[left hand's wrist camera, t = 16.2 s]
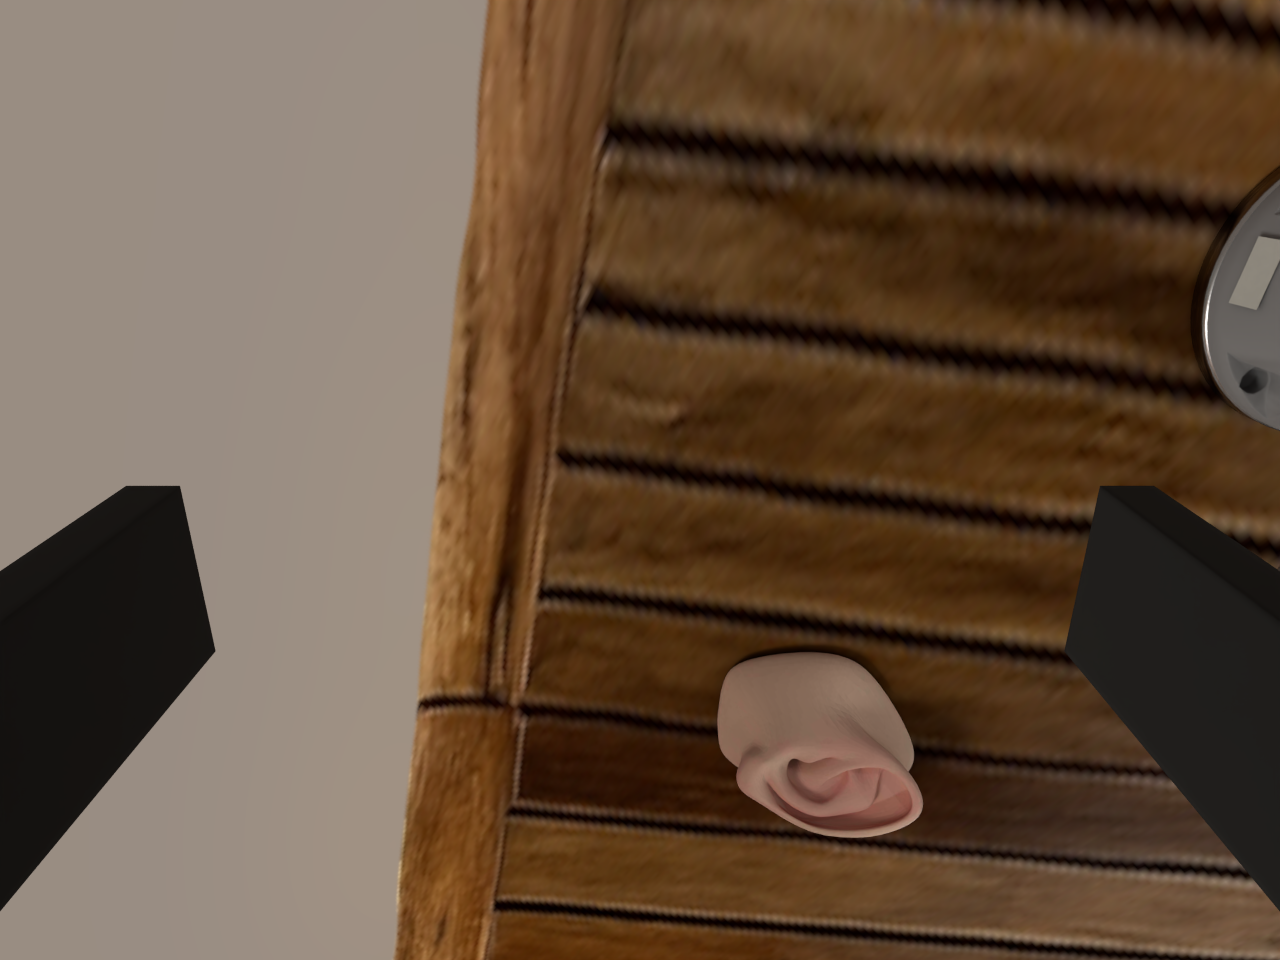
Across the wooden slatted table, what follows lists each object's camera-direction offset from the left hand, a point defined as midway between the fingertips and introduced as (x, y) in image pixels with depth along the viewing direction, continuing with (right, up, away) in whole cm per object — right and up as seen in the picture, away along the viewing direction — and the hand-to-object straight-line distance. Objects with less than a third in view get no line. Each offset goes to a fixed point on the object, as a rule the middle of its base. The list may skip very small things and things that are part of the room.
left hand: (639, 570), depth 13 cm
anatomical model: (+11, -15, +42) cm, 46 cm away
